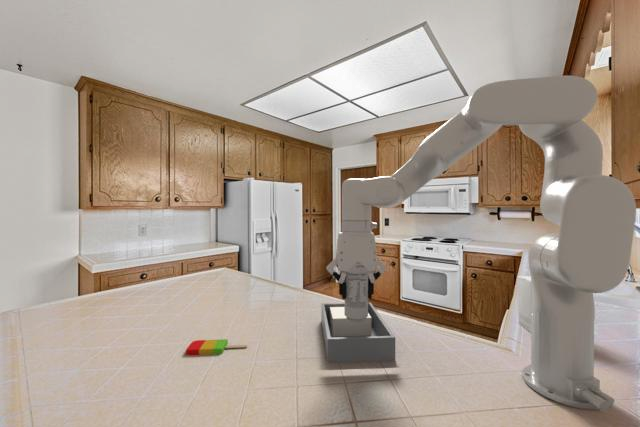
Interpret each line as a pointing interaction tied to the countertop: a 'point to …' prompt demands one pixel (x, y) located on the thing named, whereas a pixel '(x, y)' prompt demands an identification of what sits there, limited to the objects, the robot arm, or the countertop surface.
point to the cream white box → (347, 324)
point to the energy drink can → (356, 293)
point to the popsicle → (209, 347)
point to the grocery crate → (358, 340)
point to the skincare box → (525, 301)
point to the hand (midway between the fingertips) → (356, 296)
